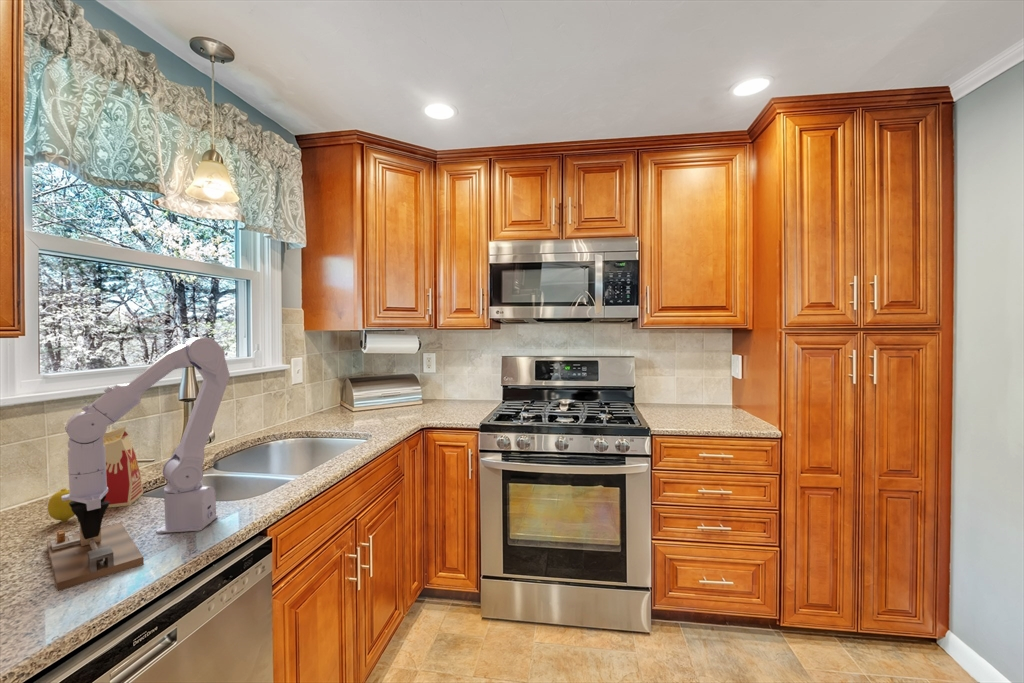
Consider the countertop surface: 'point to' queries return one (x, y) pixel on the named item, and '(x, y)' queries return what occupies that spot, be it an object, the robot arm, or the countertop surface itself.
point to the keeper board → (78, 557)
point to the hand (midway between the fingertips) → (90, 535)
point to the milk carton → (121, 469)
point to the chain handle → (82, 540)
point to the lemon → (60, 506)
